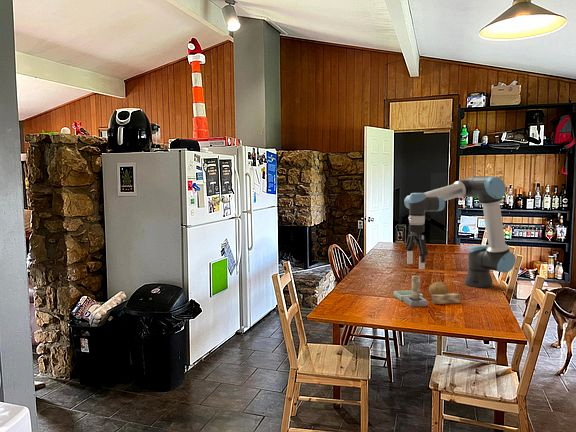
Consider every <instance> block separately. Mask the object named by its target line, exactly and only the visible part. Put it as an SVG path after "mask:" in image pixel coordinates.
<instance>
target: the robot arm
mask: <svg viewBox="0 0 576 432" xmlns="http://www.w3.org/2000/svg"><path fill="white" fill-rule="evenodd" d="M506 191H507V187H506V184H505V182H504V180H503V179H502V178H500V177H499V176H493V175H484V176H478V175H475V176H470V177H466V178H463V179H459V180H457V181H454V183H452V184H450V185H446V186H442V187H440V188H439V187H438V188H435V189H432V190H429V191H426V192H411V193H410V195H406V197H405V198H404V200H403V201H404V206H405V208H407V209H408V214H409V215H408V223H409V224H408V233H407V239H406V244H405V247H404V248H405V250H406V251H407V252H406V253H407V254H406V264H408V265H411V264H414V263H413V262H414V260H413V259H414V257H413V256H414V247H415V245H417V249H418V253H419V254H418V256H419V257H418V269H419V270H425V268H426V256H428V255H429V254H428V253H429V252H428V247H427V242H426V236H425V234H422V233H425V227H426V226H425V221H426V212H442V211H443V210H444V209H445V207H446V201H449V200H452V199H457V198H459V199H462V198H469V197H470V198H478V203H479V204H480V205H481V206H482V210H483V217H484V223H485V230H486V237H487V243H488V245H486V244H483V245H481V244H480V245H471V246H470V247H469V249H468V252H467V253H468V258H467V259H468V262H467V263H468V264H467V266H468V269H467V273H466V275H465V279H464V284H465V285H466V286H469V287H474V288H491V287H493V284H494V282H493V281H494V280H493V277H492V276H491V271H495V272H498V273H505V274H506V273H509V272H511V271H512V270H513V268H514V267H515V265H516V262H517V261H516V260H517V257H516V255H515V254H514V253H513V252H511V250H510V246H509V245H508V244H506V238H505V232H504V223H503V217H502V211H501V209H502V208H501V202H502V201H503V197H504V196H505V194H506Z"/></svg>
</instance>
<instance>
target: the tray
mask: <svg viewBox="0 0 576 432" xmlns="http://www.w3.org/2000/svg"><path fill="white" fill-rule="evenodd" d="M411 291H412V289H411V290H410V289H408V290H407V289H406V290H393V297H395V298H396V299H398V300H399V301H401V302H403V297H410V296H411ZM420 296H421V297H422V298H424V294H422V293H421V292H420Z"/></svg>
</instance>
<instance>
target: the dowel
mask: <svg viewBox="0 0 576 432" xmlns="http://www.w3.org/2000/svg"><path fill="white" fill-rule="evenodd" d="M411 290H412V291H411V300H413V301H414V300H420V293H421V292H420V291H421V276H420V275H415V274H414V275H411Z"/></svg>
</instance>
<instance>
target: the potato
mask: <svg viewBox="0 0 576 432" xmlns="http://www.w3.org/2000/svg"><path fill="white" fill-rule="evenodd" d="M428 293H429V295H430V296H431V297H432V295H434V294H449V288H448V287H447V285H446V283H443V282H441V281H436V282H433V283H431V284H430V286H429V287H428Z"/></svg>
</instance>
